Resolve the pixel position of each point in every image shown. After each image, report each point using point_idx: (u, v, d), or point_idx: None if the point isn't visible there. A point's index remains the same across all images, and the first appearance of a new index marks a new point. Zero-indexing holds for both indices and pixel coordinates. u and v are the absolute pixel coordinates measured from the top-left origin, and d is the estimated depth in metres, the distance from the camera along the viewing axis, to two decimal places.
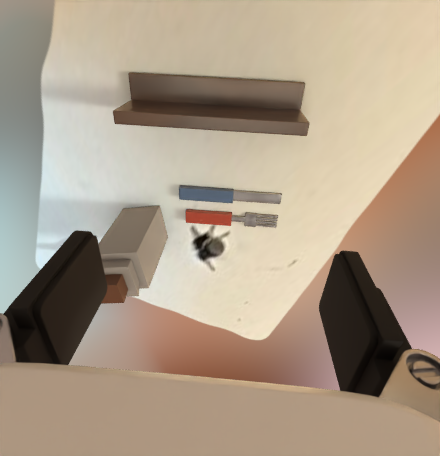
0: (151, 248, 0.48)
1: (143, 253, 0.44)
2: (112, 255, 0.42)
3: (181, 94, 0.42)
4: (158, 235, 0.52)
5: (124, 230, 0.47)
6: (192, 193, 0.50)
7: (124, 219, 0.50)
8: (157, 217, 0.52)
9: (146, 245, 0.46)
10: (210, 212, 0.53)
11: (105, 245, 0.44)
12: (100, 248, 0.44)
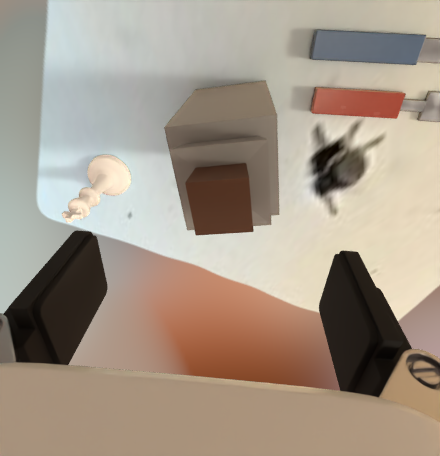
0: None
1: None
2: (215, 127, 0.18)
3: None
4: None
5: (218, 101, 0.23)
6: (341, 43, 0.26)
7: (208, 94, 0.26)
8: None
9: None
10: (363, 90, 0.28)
11: (190, 116, 0.20)
12: (181, 119, 0.19)
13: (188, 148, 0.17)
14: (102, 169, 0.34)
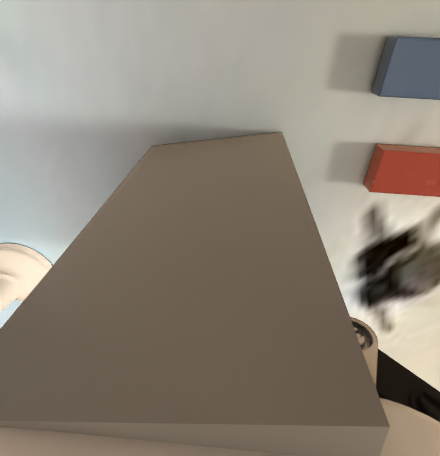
0: None
1: None
2: (124, 434, 0.04)
3: None
4: None
5: (177, 210, 0.09)
6: None
7: (165, 172, 0.12)
8: None
9: None
10: None
11: (71, 309, 0.06)
12: (30, 337, 0.06)
13: None
14: (3, 269, 0.20)
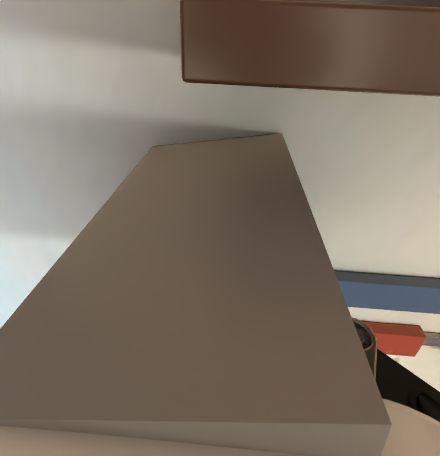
0: None
1: None
2: (127, 432, 0.04)
3: None
4: None
5: (178, 210, 0.09)
6: (342, 291, 0.19)
7: (166, 172, 0.12)
8: None
9: None
10: (371, 328, 0.21)
11: (72, 308, 0.06)
12: (31, 336, 0.06)
13: None
14: None
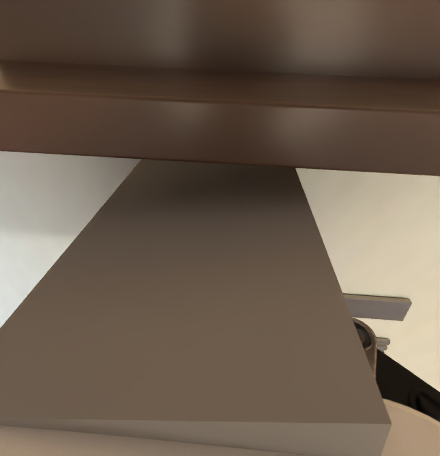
0: None
1: None
2: (127, 431, 0.04)
3: (153, 37, 0.13)
4: None
5: (178, 210, 0.09)
6: None
7: (166, 172, 0.12)
8: None
9: None
10: None
11: (72, 307, 0.06)
12: (31, 335, 0.06)
13: None
14: None
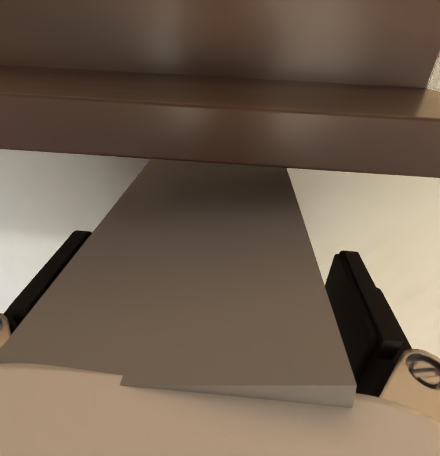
0: None
1: None
2: None
3: (61, 40, 0.14)
4: None
5: (181, 213, 0.10)
6: None
7: (169, 178, 0.13)
8: None
9: None
10: None
11: (89, 297, 0.07)
12: (55, 320, 0.07)
13: None
14: None
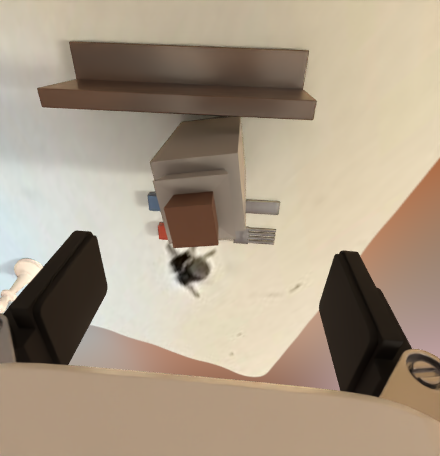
0: (242, 169, 0.28)
1: (240, 165, 0.25)
2: (190, 162, 0.23)
3: (142, 69, 0.31)
4: None
5: (196, 136, 0.28)
6: None
7: (190, 128, 0.31)
8: None
9: (240, 155, 0.26)
10: None
11: (172, 151, 0.25)
12: (164, 154, 0.24)
13: (167, 180, 0.21)
14: (23, 269, 0.47)
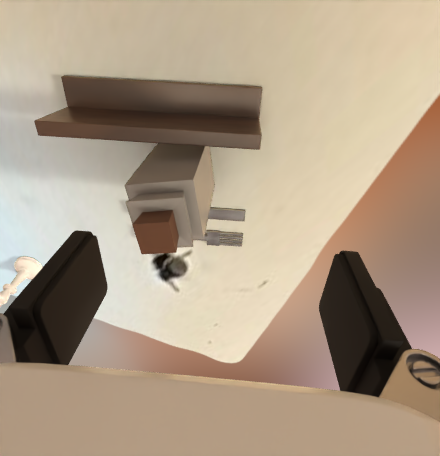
0: (204, 187, 0.34)
1: (198, 187, 0.31)
2: (156, 185, 0.29)
3: (123, 100, 0.37)
4: (208, 175, 0.38)
5: (166, 160, 0.34)
6: None
7: (163, 151, 0.37)
8: (207, 150, 0.38)
9: (200, 178, 0.32)
10: None
11: (143, 175, 0.31)
12: (137, 178, 0.30)
13: (137, 201, 0.27)
14: (22, 266, 0.53)
